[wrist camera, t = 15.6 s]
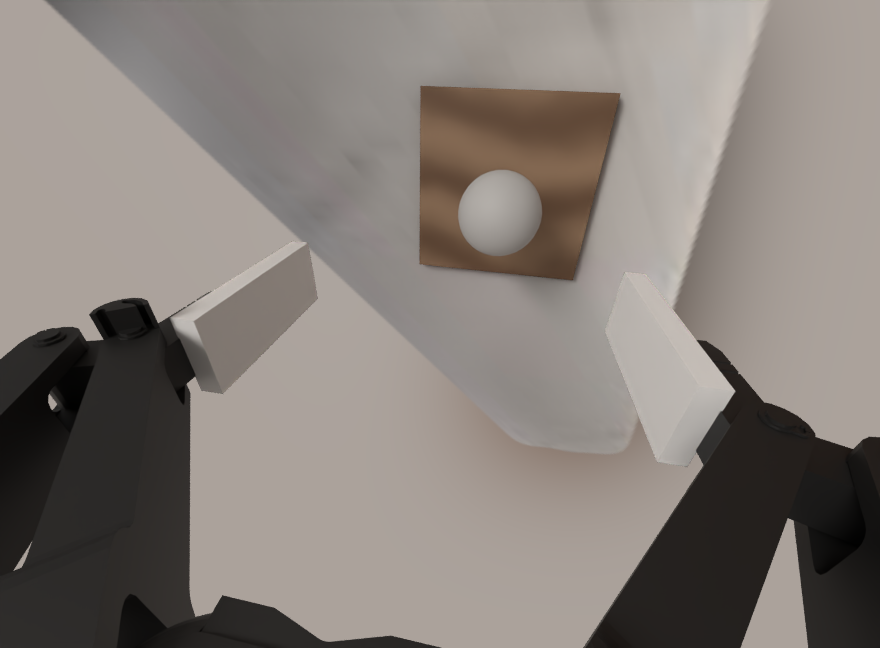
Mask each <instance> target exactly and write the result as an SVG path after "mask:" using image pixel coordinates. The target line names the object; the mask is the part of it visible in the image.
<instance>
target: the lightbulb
mask: <svg viewBox="0 0 880 648" xmlns="http://www.w3.org/2000/svg"><path fill="white" fill-rule="evenodd" d="M541 217H542V204H541V200H540V197H539V194H538V192H537V190H536V188H535V186H534V185H533V184H532V183H531V182H530V181H529V180H528V179H527V178H526V177H524V176H523V175H521V174H519V173H517V172H514V171H510V170H495V171H490V172H487V173H485V174H483V175H481V176H479V177H478V178H476V179H475V180H474V181H473V182H472V183H471V184H470V185H469V186H468V188H467V189H466V191H465V192H464V194H463V196H462V198H461V201H460V204H459V209H458V220H459V225H460V229H461V231H462V234H463V236H464V237H465V239H466V240H467V242H468V243H469V244H470V245H471V246H472V247H473V248H475V249H476V250H478V251H479V252H482V253H484V254H487V255H491V256H505V255H509V254H512V253H515V252H517V251H519V250H521V249H522V248H524V247H525V246H526V245H527V244H528V243H529V242H530V241H531V240H532V239H533V237H534V236H535V234H536V232H537V230H538V228H539V225H540V222H541Z"/></svg>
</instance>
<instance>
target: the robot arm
mask: <svg viewBox="0 0 880 648" xmlns="http://www.w3.org/2000/svg"><path fill="white" fill-rule="evenodd" d="M317 299H318V297H317V291H316V286H315V280H314V275H313V269H312V263H311V257H310V251H309V246H308V243H305V242H294V241H291V242H290V243H288V244H287V245H285V246H283V247H282V248H280V249H279V250H277V251H276V252H274V253H272V254H271V255H269V256H268V257H266V258H265V259H263V260H261V261H260V262H258V263H256V264H255V265H253V266H252V267H250V268H248V269H247V270H245V271H244V272H242V273H240V274H239V275H237V276H236V277H234V278H233V279H231V280H229V281H228V282H226V283H224V284H223V285H221V286H220V287H218V288H216V289H215V290H213V291H211V292H208V293H207V294H205V295H203V296H202V297H200V298H199V299H197V301H194V302H192V303H191V304H189V305H187V307H184V308H183V309H181V310H179V311H178V312H176V313H175V314H173V315H171V316H170V317H168V318H167V319H165V320H163V321H162V322H160V323H158V322H157V320H156V318H155V316H154V314H153V312H152V310H151V307H150V305H149V303H148V301H147V300H144V299H142V298H129V299H122V300H117V301H113V302H110V303H107V304H104V305H102V306H100V307H98V308H96V309H95V310H93V311H92V312H91V313H90V314H89V315H90V317H91V319H92V320H93V322H94V323H95V325H96V327H97V329H98V331H99V332H100V334H101V336H102V337H103V339H104V340H98V341H86V340H85V338H84V337H83V335H82V333H81V332H80V330H79V329H78V328H74V327H61V328H52V329H47V330H46V331H45V330H44V331H40V332H38V333H37V334H35V335H33V336H31V337H29V338H27V339H25V340H24V341H22V342H21V343H19V344H18V345H17V346H16V347H15V348H13V349H12V350H11V351H10V352H9V353H7V354H6V355H5V356H4V357H3V358H2V359H0V648H440V647H436V646H432V645H427V644H423V643H419V642H415V641H411V640H407V639H402V638H398V637H394V636H384V637H374V638H364V639H354V640H345V641H335V642H325V641H322V640H320V639H318V638H317V637H316V636H314V635H313V634H311V633H309V632H308V631H307V630H305V629H304V628H303V627H301V626H300V625H298V624H297V623H296V622H294V621H293V620H291V619H290V618H288V617H287V616H286V615H284V614H283V613H281V612H280V611H278V610H277V609H275V608H273V607H268V606H264V605H260V604H256V603H252V602H248V601H244V600H239V599H235V598H231V597H227V596H223V595H222V597H221V599H220V600H219V602H218V604H217V605H216V607H215V609H214V611H213V612H212V613H211V614H206V615H202V616H197V617H195V614H194V611H193V608H192V604H191V600H190V591H189V563H190V559H189V558H190V553H189V552H190V548H189V547H190V546H189V545H190V542H189V541H190V391H189V389H188V387H187V383H188V382H189V381H190V380H191V379H193V378H194V377H196V379H197V381H198V384H199V386H200V388H201V390H202V391H208V392H214V393H221V394H223V393H224V392H225V391H226V390H227V389H228V388H229V387H230V386H231V385H232V384H233V383H234V382H235V381H236V380H237V379H238V378H239V377H240V376H241V375H242V374H243V373H244V372H245V371H246V370H247V369H248V368H249V367H250V366H251V365H252V364H253V363H254V362H255V361H256V360H257V359H258V358H259V357H260V356H261V355H262V354H263V353H264V352H265V351H266V350H267V349H268V348H269V347H270V346H271V345H272V344H273V343H274V342H275V341H276V340H277V339H278V338H279V337H280V336H281V335H282V334H283V333H284V332H285V331H286V330H287V329H288V328H289V327H290V326H291V325H292V324H293V323H294V322H295V321H296V320H297V319H298V318H299V317H300V316H301V315H302V314H303V313H304V312H305V311H306V310H307V309H308V308H309V307H310V306H311V305H312V304H313V303H314V302H315V301H316V300H317ZM605 333H606V335H607V338H608V340H609V343H610V345H611V348H612V350H613V353H614V355H615V358H616V361H617V363H618V366H619V368H620V371H621V373H622V376H623V378H624V381H625V383H626V386H627V388H628V391H629V393H630V396H631V398H632V401H633V403H634V406H635V408H636V411H637V413H638V416H639V418H640V421H641V423H642V426H643V428H644V431H645V433H646V436H647V438H648V441H649V443H650V446H651V448H652V451H653V453H654V456H655V458H656V461H657V462H659V463H665V464H672V465H678V466H685V467H687V466H688V465H689V463H690V462H691V460H692V459H693V457H694V455H695V454H696V452H697V453H698V455H699V457H700V459H701V461H702V463H703V465H704V466H703V467H702V469H701V470H700V472H699V473H698V475H697V476H696V478H695V479H694V481H693V482H692V484H691V485H690V486H689V488H688V490H687V491H686V493H685V494H684V496H683V497H682V499H681V500H680V502H679V503H678V505H677V506H676V508H675V509H674V511H673V513H672V514H671V516H670V517H669V519H668V520H667V522H666V523H665V525H664V526H663V528H662V529H661V531H660V532H659V534H658V535H657V537H656V539H655V540H654V541H653V543H652V544H651V546H650V547H649V549H648V551H647V552H646V553H645V555H644V557H643V558H642V560H641V561H640V563H639V564H638V566H637V567H636V569H635V570H634V572H633V573H632V575H631V576H630V578H629V579H628V581H627V582H626V584H625V586H624V587H623V589H622V590H621V591H620V593H619V594H618V596H617V597H616V599H615V600H614V602H613V604H612V605H611V607H610V608H609V610H608V611H607V613H606V614H605V616H604V617H603V619H602V620H601V622H600V623H599V625H598V626H597V628H596V629H595V631H594V632H593V634H592V635H591V637H590V638H589V640H588V641H587V643H586V644H585V646H584V647H583V648H740V647H741V645H742V642H743V639H744V637H745V634H746V631H747V628H748V626H749V623H750V620H751V617H752V615H753V612H754V609H755V606H756V604H757V601H758V598H759V595H760V592H761V590H762V587H763V584H764V582H765V579H766V576H767V573H768V570H769V568H770V565H771V562H772V560H773V557H774V554H775V551H776V548H777V546H778V543H779V540H780V538H781V535H782V532H783V529H784V527H785V524H786V521H787V518H789V519H791V520H794V527H795V536H796V544H797V552H798V562H799V570H800V578H801V588H802V596H803V605H804V614H805V622H806V631H807V640H808V648H880V437H868V438H866V439H863V440H862V441H861V442H860V443H859V444H858V445H857V446H856V447H855V448H854V449H851V448H848V447H845V446H841V445H838V444H835V443H832V442H829V441H826V440H823V439H820V438H817V437H815V433H814V431H813V430H812V429H811V427H810V426H809V425H808V424H807V423H806V422H804V421H803V420H802V419H801V418H799V417H798V416H797V415H795V414H793V413H791V412H789V411H787V410H785V409H783V408H781V407H778V406H775V405H773V404H769V403H764V402H763V401H762V400H761V398H760V397H759V396H758V395H757V394H756V392H755V391H754V390H753V389H752V388H751V387H750V385H749V384H748V383H747V382H746V380H745V379H744V378H743V377H742V376H741V375H740V374H738V371H737V370H736V369H735V367H734V366H733V365H731V362H730V361H729V360H728V359H727V358H726V356H725V355H724V354H723V353H722V352H721V351H720V350H719V349H717V348H715V347H714V346H713V345H711V344H709V343H708V342H707V341H701V340H696V339H695V338H694V337H693V335H692V334H691V333H690V332H689V330H688V329H687V328H686V326H685V325H684V324H683V322H682V321H681V320H680V318H679V317H678V316H677V315H676V313H675V312H674V311H673V309H672V308H671V307H670V305H669V304H668V303H667V301H666V300H665V299H664V298H663V296H662V295H661V294H660V292H659V291H658V290H657V288H656V287H655V286H654V284H653V283H652V282H651V281H650V279H649V278H648V277H647V275H646V274H640V273H629V272H624V275H623V278H622V281H621V284H620V287H619V290H618V293H617V296H616V299H615V302H614V305H613V308H612V311H611V314H610V317H609V320H608V323H607V326H606V329H605ZM49 394H50V395H51V396H52V398H53V399H54V400H55V401H56V403H57V406H56V407H55V408H54V409H53V410H51V408H50V406H49V403H48V395H49ZM32 540H33V541H32ZM31 542H32V543H31ZM30 543H31V547H30V549H29V552H28V555H27V558H26V560H25V562H24V564H23V566H22V568H20V569H17V570H15V571H13V570H14V569H15V567H16V566H17V564H18V562H19V561H20V559H21V558H22V556H23V554H24V553H25V551H26V550H27V548H28V547H29V545H30Z"/></svg>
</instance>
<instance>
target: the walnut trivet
mask: <svg viewBox="0 0 880 648" xmlns="http://www.w3.org/2000/svg"><path fill="white" fill-rule="evenodd" d="M619 97H620V93H597V92H570V91H543V90H515V89H488V88H461V87H434V86H421V116H420V264H423V265H433V266H442V267H452V268H461V269H471V270H480V271H490V272H500V273H509V274H519V275H528V276H538V277H547V278H557V279H566V280H573V277H574V273H575V269H576V265H577V261H578V257H579V253H580V249H581V246H582V242H583V238H584V234H585V230H586V226H587V222H588V218H589V214H590V210H591V207H592V203H593V199H594V195H595V191H596V187H597V183H598V179H599V175H600V171H601V168H602V164H603V160H604V156H605V152H606V148H607V144H608V140H609V136H610V132H611V129H612V125H613V121H614V117H615V113H616V109H617V105H618V101H619ZM495 170H510V171H514V172H517V173H519V174H521V175H523V176H524V177H526V178H527V179H528V180H529V181H530V182H531V183H532V184H533V185H534V186H535V188H536V190H537V192H538V194H539V197H540V200H541V204H542V217H541V222H540V225H539V228H538V230H537V232H536V234H535V236H534V237H533V239H532V240H531V241H530V242H529V243H528V244H527V245H526V246H525V247H524V248H522V249H521V250H519V251H517V252H515V253H512V254H509V255H505V256H491V255H487V254H484V253H482V252H479V251H478V250H476V249H475V248H473V247H472V246H471V245H470V244H469V243H468V242H467V240H466V239H465V237H464V236H463V234H462V231H461V229H460V225H459V220H458V209H459V204H460V201H461V198H462V196H463V194H464V192H465V191H466V189H467V188H468V186H469V185H470V184H471V183H472V182H473V181H474V180H475V179H476V178H478V177H479V176H481V175H483V174H485V173H487V172H490V171H495Z"/></svg>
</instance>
